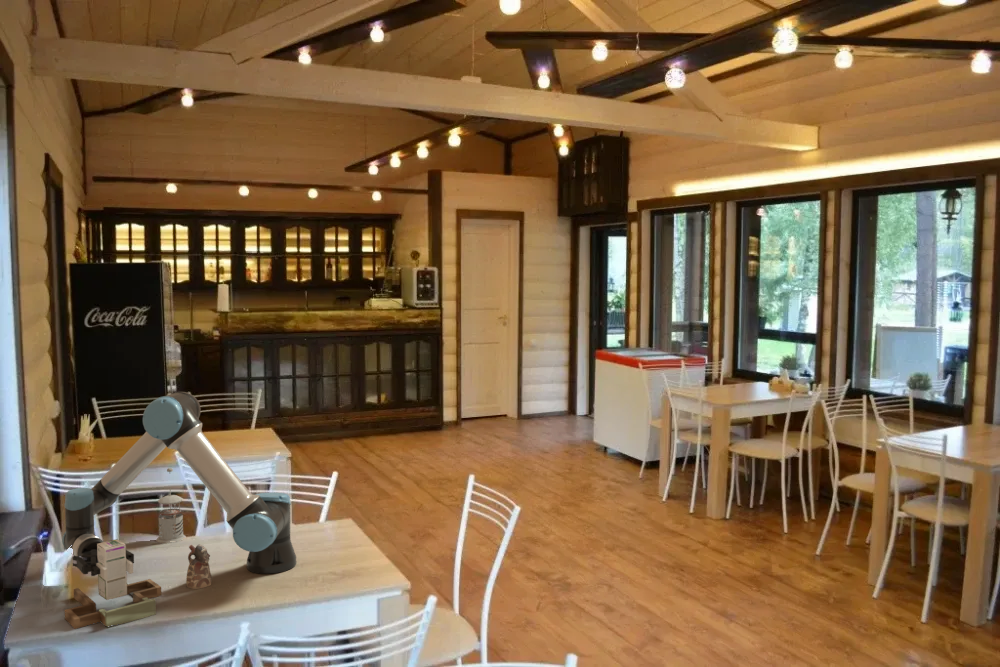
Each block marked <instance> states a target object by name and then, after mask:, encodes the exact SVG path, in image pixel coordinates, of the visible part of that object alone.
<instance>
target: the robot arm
mask: <svg viewBox="0 0 1000 667" xmlns="http://www.w3.org/2000/svg"><path fill="white" fill-rule="evenodd" d="M201 409H202V408H201V404H200V402H199V400H198V399H197V398H196V397H195V396H194V395H193V394H192V393H190V392H186V391H176V392H173V393H170V394H167V395H164V396H160V397H158V398H156V399H154V400H153V401H151V402H150V403H148V405H147V406H146V408H145V409H144V412H143V414H142V425H143V428H144V430H145V432H144V434H142V435H141V437H139V439H138V440H137V441H136V442H135V443H134V444H133V445H132V446H131V447H130V448H129V449H128V450H127V451H126V453H124V455H122V456H121V457H120V458H119V460H118V461H117V462H116V463H115V464H114V465H113V466H112V467H111V468H110V469H108V471H107V472H106V473H105V475H103V477H101V479H99V480H98V481H97V483H96V484H94V486H93V487H92V488H89V487H78V488H73V489H70V490H68V491H67V492H65V496H64V498H65V499H64V504H63V505H64V517H65V531H64V533H63V535H62V538H61V542H62V545H63V546H64V548H65V550H66V551H67V549H68V548H69V547H70V546H71V545H72V546H71V547H70V548H72V549H73V554H72V566H73V567H76V568H77V569H78V570H79V571H80V572H81V573H82V574H83V575H87V574H89V573H90V575H91V577H95V576H96V575H97V576H98V575H99V576H101V577H102V578H103V579H104V580H106V579H108V575H107V568H105V567H104V566H103V565H101V564H100V563H98V557H97V544H98V543H102V542H105V541H104V540H102V539H101V538H99V536H97V535H95V515H98V513H101V511H103V510H105V509H108V508H109V507H111V506H113V504H114V503H116V502H117V501H118V499H119V497H120V495H121V494H122V493H123V492H124V491H125V490H126V489H127V488H128V487H129V485H131V484H132V482H134V480H136V478H137V477H138V476H139V475H140V474H141V473H143V472H144V470H146V468H147V467H148V466H149V465H150V464H151V463H152V462H153V461H155V459H156V458H157V457H158V456H159V455H160V454H161V453H162V452H163V451H164V450H165V449H166V447H167V449H169V450H170V449H171V450H176V451H177V452H178V453H179V456H181V457H182V459H183V460H184V461H185V462H186V463H187V465H188V466H189V468H190V469H191V470H192V471H193V472H194V474H195V475H196V476H197V477H198V478H199V480H200V482H201V483H202V484H203V485H204V486H205V488H206V489H207V490H208V491H209V492H210V494H211V495H212V496H213V498H214V499H215V500H216V501H217V502H218V504H219V505H220V506H221V507H222V509H223V510H224V511H225V512H226V522H227V524H228V525H229V527H231V529H232V538H233V540H234V542H235V543H236V545H237V547H239V548H240V549H242V550H244V551H247V552H249V553H248V555H247V560H246V570H248V571H249V572H251V573H253V574H254V573H256V574H263V575H264V574H265V575H266V574H277V573H281V572H286V571H288V570H291V569H293V568H294V567H295V566H296V565H297V555H296V553H295V549H294V547H293V543H292V540H291V505H292V504H291V499H290V495H289V494H287V493H285V492H261V493H256V494H252V493H251V492H250V490H249V489H248V488H247V487H246V485H245V484H244V483H243V482H242V481H241V480H240V478H239V477H238V476H237V474H236V472H234V471H233V469H232V468H231V467H230V465H229V464H228V463H227V462H226V460H225V458H223V457H222V455H221V454H220V453H219V452H218V450H217V449H216V448H215V447H214V445H213V444H212V443H211V441H210V440H209V439H208V438H207V437H206V435H205V434H204V433H203V430H202V428H203V422H202V421H201V420H200V419H199V418H200V416H201V411H202V410H201ZM134 563H135V554H134V553H133V552H131V551H129V550H127V549H126V573H127V572H128V574H131V575H132V574H134Z"/></svg>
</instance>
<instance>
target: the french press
mask: <svg viewBox="0 0 1000 667" xmlns="http://www.w3.org/2000/svg"><path fill="white" fill-rule="evenodd" d="M166 472H167V473H172V472H174V470H173V467H168V468H166ZM171 490H172V489H171V488H169V494H168V495H164V496H163V497H160V498H159V499H158V500H157V502H158V503H159V504H161V505H169V508H166V509H162V510H160V511H159V515H158V537H157V538H156V540H155V541H156V543H159V544H174V543H175V542H173V543H172V542H170V541H179V542H181V540H182V541H183V538H186V539H187V536H186V535H185V534H184V526H183V525H184V523H183V522H184V519H183V517H184V515H183V513H182V509H181V505H180V503H181V502H183V500H184V498H183V497H181V496H179V495H176V494H171ZM172 505H173V506H174V507H175V508H172ZM176 505H178V508H177V507H176Z"/></svg>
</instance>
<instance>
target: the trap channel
mask: <svg viewBox="0 0 1000 667" xmlns="http://www.w3.org/2000/svg"><path fill="white" fill-rule="evenodd" d="M128 595H129V596H131V597H132V602H133V603H131V604H128V605H124V606H120V607H117V608H113V609H109V610H106V609H105V608H100V609H98V611H97V603H96V602H95V601H94V600H92V598H91V597H89V596H88V595H87V594H86V593H85V592H83V590H81V589H80V588H79V587H76V588H73V599H75V601H77V602H78V603H79V604H80V605H78V606H75V607H70V608H67V609H64V620H65V621H66V622H67V623H68V624H69V625H70V626H71V627H72V628H73V629H74V630H77V629H79V628H83V627H87V625H88V626H91V625H94V624H93V623H95V624H98V623H97V622H99V623H101V622H102V623H103V624H104V625H105V626H107V627H108V626H111V625H116V626H118V625H117V624H119V625H123V624H125V623H130V622H133V621H137V620H141V619H144V618H147V617H151V616H154V615H156V614H157V610H156V609H157V608H156V606H157V605H156V603H157V602H156V599H155V598H157V597H161V596H162V586H160V585H159V584H158V583H156V582H155V581H153V580H152V579H150V578H149V579H144V580H141V581H136V582H133V583H129V584H128V583H127V595H126V596H128ZM100 621H101V622H100ZM102 623H101V624H102ZM90 624H91V625H90ZM103 624H102V625H103ZM104 625H103V626H104ZM105 626H104V627H105ZM107 627H106V628H107Z"/></svg>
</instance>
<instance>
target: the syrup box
mask: <svg viewBox="0 0 1000 667" xmlns="http://www.w3.org/2000/svg"><path fill="white" fill-rule="evenodd" d="M126 550H127V549H126V543H124V542H122V541H121V540H120V539H118V538H117V539H111V540H106V541H104V542H102V543H98V544H97V557H98V563H100V564H101V565H103V566H104V567H105V568H107V575H108V579H106V580H104V579H103V578H102V577H101V576H99V575H97V582H98V584H97V585H98V596H100V597H102V598H103V599H104V600H106V601H109V600H113V599H117V598H121V597H124V596H128V595H127V584H128V579H127V578H128V577H127V575H128V574H127V571H126Z"/></svg>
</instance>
